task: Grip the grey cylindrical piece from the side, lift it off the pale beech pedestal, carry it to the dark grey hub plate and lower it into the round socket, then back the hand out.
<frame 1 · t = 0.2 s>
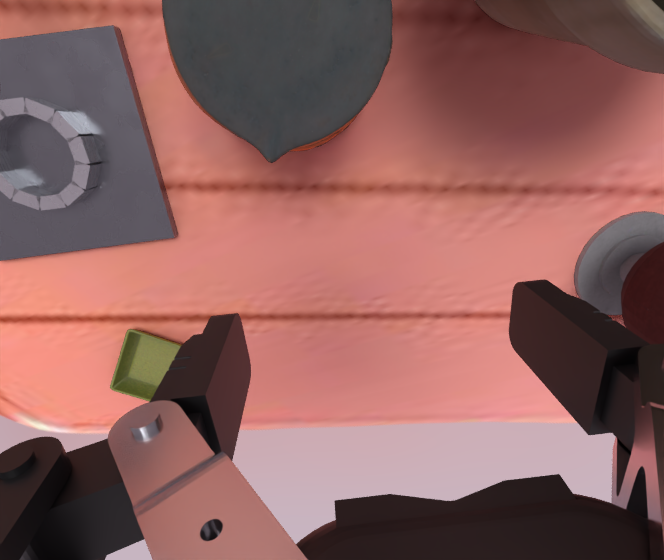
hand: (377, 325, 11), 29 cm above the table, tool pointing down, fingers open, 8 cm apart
hub plate: (55, 154, 36), on the table
olive green shallow tray: (164, 361, 45), on the table
beer stein: (288, 36, 33), on the table
mate gourd: (627, 269, 44), on the table
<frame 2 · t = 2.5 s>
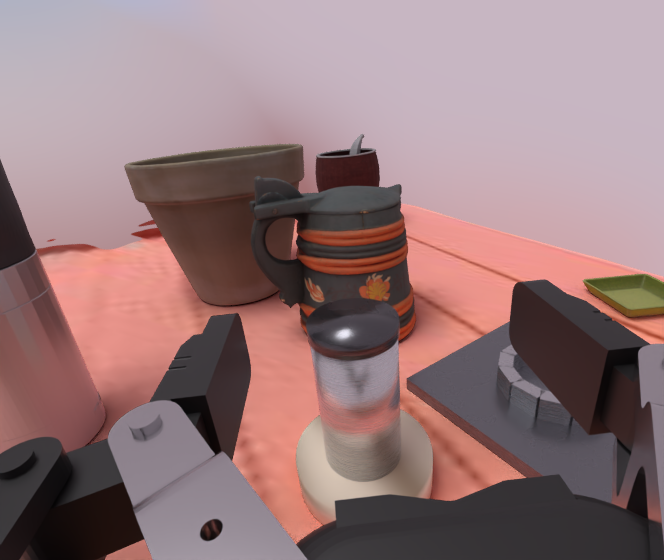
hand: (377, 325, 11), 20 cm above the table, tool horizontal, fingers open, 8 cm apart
hub plate: (550, 397, 35), on the table
olive green shallow tray: (633, 306, 48), on the table
plant pot: (245, 287, 64), on the table
beer stein: (343, 327, 49), on the table
mate gourd: (353, 228, 90), on the table
grey cylindrical piece: (363, 448, 28), point 2 cm above the table, touching pedestal
pedestal: (365, 472, 29), on the table
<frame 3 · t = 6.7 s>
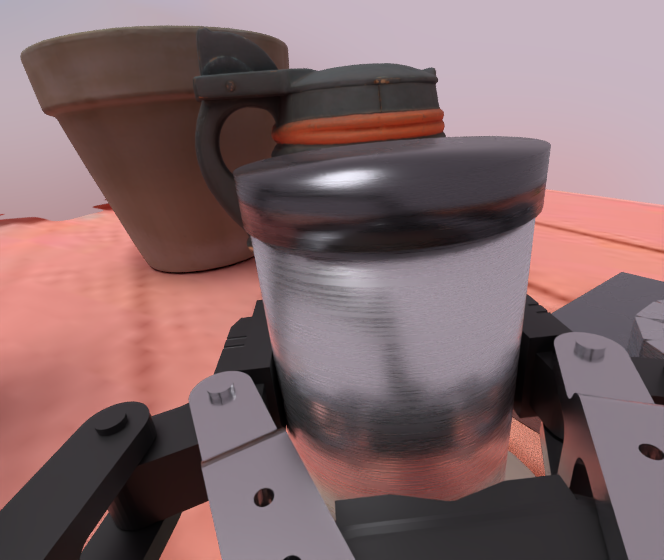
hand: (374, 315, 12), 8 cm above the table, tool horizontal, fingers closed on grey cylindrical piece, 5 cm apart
plant pot: (213, 252, 48), on the table
beer stein: (345, 296, 33), on the table
grey cylindrical piece: (397, 522, 12), point 2 cm above the table, touching gripper, pedestal
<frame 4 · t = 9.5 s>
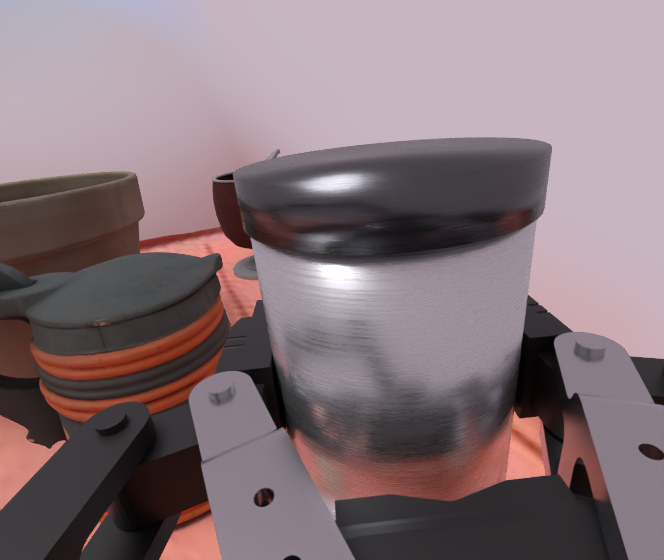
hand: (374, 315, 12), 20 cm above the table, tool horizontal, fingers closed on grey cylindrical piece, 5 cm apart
plant pot: (80, 365, 47), on the table
beer stein: (155, 463, 33), on the table
mate gourd: (269, 265, 73), on the table
grey cylindrical piece: (398, 524, 12), point 14 cm above the table, touching gripper
when the fingers open (9 cm above the table, at t = 12.5 s): grey cylindrical piece drops 2 cm, resting on hub plate.
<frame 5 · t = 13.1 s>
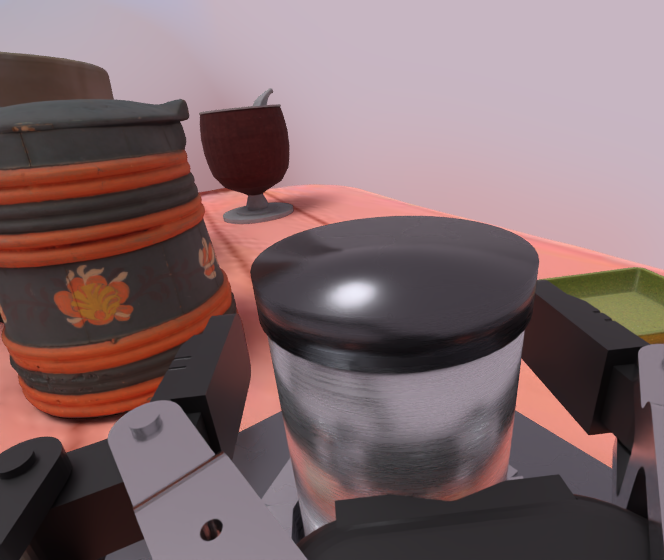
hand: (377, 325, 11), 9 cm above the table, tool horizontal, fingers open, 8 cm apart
olive green shallow tray: (624, 324, 27), on the table
plant pot: (47, 291, 43), on the table
beer stein: (114, 363, 28), on the table
mate gourd: (262, 214, 68), on the table
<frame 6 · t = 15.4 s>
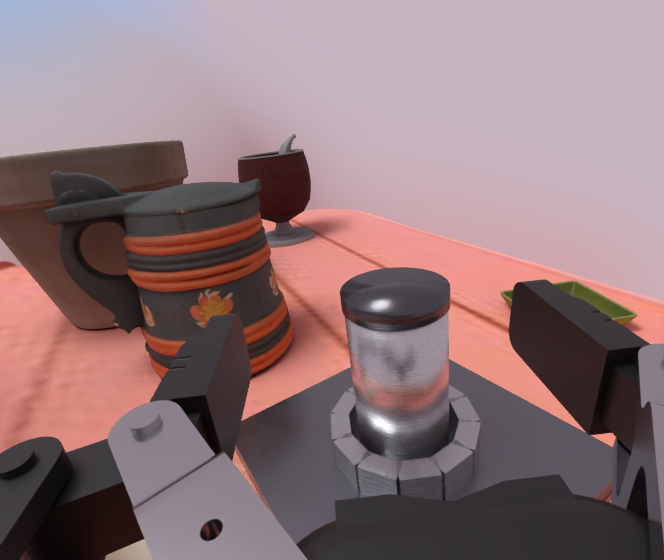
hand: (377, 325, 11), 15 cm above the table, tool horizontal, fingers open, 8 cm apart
hub plate: (404, 455, 25), on the table
olive green shallow tray: (560, 321, 39), on the table
plant pot: (132, 306, 56), on the table
beer stein: (206, 355, 41), on the table
mate gourd: (287, 238, 81), on the table
grey cylindrical piece: (404, 442, 25), point 1 cm above the table, touching hub plate
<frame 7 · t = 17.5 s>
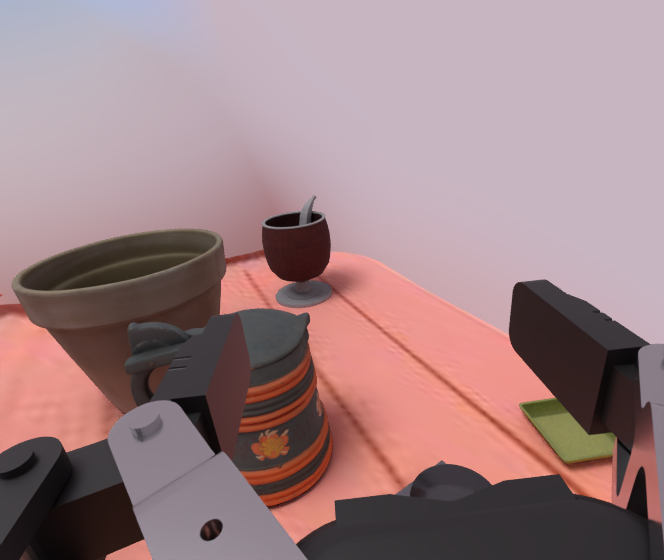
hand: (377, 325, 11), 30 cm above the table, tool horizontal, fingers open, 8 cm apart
olive green shallow tray: (573, 438, 43), on the table
plant pot: (169, 384, 60), on the table
beer stein: (253, 460, 45), on the table
mate gourd: (306, 294, 85), on the table
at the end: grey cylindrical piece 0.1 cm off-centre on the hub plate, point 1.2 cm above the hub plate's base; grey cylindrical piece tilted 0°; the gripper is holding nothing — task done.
